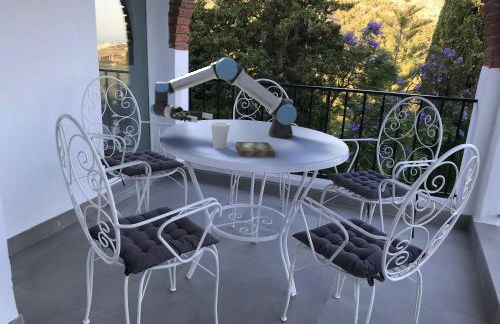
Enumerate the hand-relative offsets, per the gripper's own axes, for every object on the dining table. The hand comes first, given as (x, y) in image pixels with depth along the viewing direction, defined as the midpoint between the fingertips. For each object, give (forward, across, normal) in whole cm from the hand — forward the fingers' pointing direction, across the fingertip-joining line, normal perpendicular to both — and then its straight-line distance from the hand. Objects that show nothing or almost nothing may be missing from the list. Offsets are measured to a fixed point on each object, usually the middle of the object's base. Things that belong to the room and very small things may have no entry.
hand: (204, 118), depth 220 cm
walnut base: (+28, -6, -14) cm, 32 cm away
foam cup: (+10, 0, -14) cm, 18 cm away
